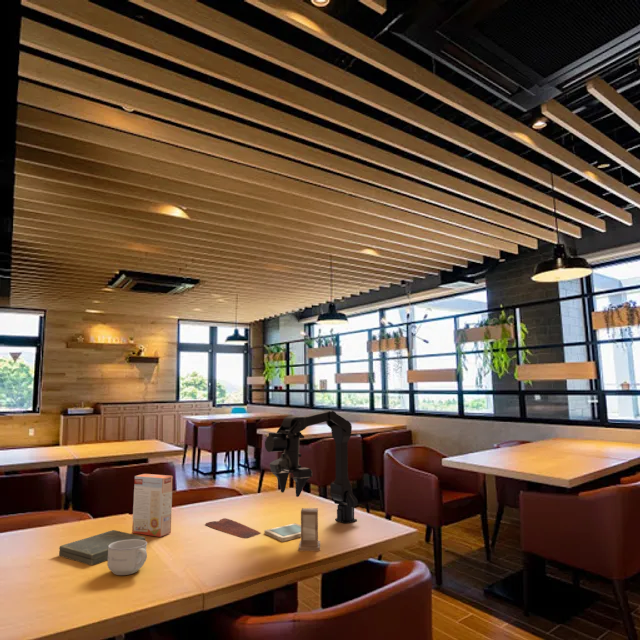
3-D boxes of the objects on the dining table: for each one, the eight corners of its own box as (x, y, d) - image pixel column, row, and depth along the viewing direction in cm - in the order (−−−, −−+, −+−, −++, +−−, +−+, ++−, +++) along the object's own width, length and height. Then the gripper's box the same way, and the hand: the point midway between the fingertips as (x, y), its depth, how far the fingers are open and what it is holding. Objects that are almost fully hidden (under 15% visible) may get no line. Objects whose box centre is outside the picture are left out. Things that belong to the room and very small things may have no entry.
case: (91, 567, 143) (145, 548, 160) (92, 553, 143) (146, 535, 160) (58, 557, 151) (113, 540, 169) (59, 544, 152) (113, 528, 169)
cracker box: (171, 533, 174) (173, 475, 177) (160, 538, 169) (162, 478, 172) (143, 528, 180) (145, 472, 183) (131, 533, 174) (133, 475, 177)
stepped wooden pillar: (300, 543, 161) (299, 507, 162) (320, 543, 161) (320, 507, 162) (298, 550, 154) (298, 512, 156) (319, 550, 154) (319, 512, 155)
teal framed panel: (295, 526, 181) (295, 522, 181) (314, 533, 171) (314, 530, 172) (264, 533, 172) (264, 529, 172) (282, 541, 163) (282, 537, 163)
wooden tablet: (203, 526, 184) (203, 521, 185) (224, 521, 191) (224, 516, 192) (242, 541, 166) (242, 536, 166) (264, 534, 173) (265, 530, 173)
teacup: (101, 571, 138) (102, 543, 139) (137, 562, 146) (138, 534, 147) (119, 585, 128) (121, 554, 129) (157, 574, 136) (158, 545, 137)
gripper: (259, 449, 176) (257, 492, 174) (288, 454, 162) (287, 501, 160) (283, 448, 183) (282, 489, 181) (313, 452, 169) (312, 498, 167)
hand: (289, 494), depth 172 cm, fingers open, 9 cm apart
